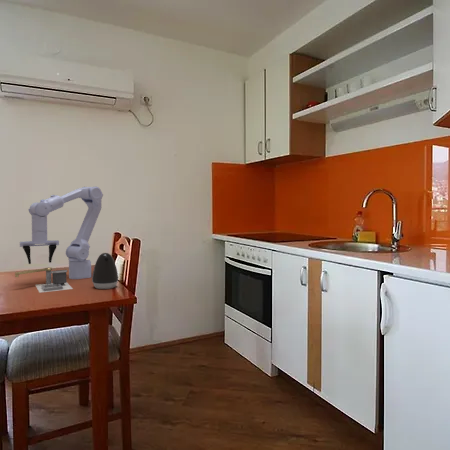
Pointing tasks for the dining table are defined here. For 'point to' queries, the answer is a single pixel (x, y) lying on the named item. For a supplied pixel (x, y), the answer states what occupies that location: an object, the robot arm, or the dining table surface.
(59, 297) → the dining table surface
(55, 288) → the lever mounting base
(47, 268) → the lever handle
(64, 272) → the plug
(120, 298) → the dining table surface
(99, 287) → the black rounded cone
